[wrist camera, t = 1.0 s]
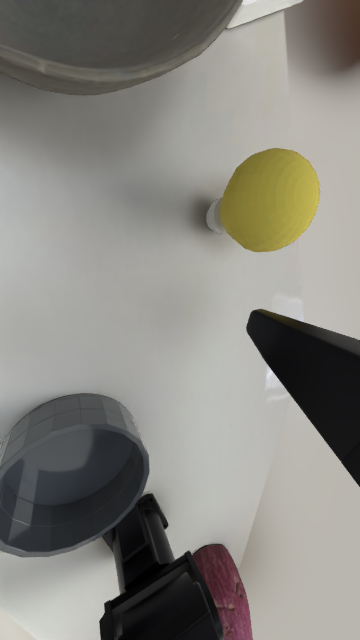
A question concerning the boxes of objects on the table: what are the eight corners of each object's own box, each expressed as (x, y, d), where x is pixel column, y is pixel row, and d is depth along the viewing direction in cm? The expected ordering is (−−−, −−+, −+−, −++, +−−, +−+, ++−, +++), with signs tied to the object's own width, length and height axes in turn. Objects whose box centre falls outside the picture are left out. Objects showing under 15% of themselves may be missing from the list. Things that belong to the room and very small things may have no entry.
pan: (151, 455, 26) (165, 490, 22) (41, 526, 23) (35, 583, 19) (110, 371, 22) (119, 395, 18) (-35, 442, 18) (-64, 493, 14)
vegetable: (210, 556, 41) (278, 695, 30) (159, 596, 36) (219, 784, 25) (229, 526, 37) (315, 675, 26) (174, 565, 32) (255, 777, 21)
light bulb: (173, 200, 21) (250, 157, 12) (228, 167, 22) (333, 108, 13) (204, 266, 23) (284, 271, 15) (251, 233, 25) (350, 220, 16)
